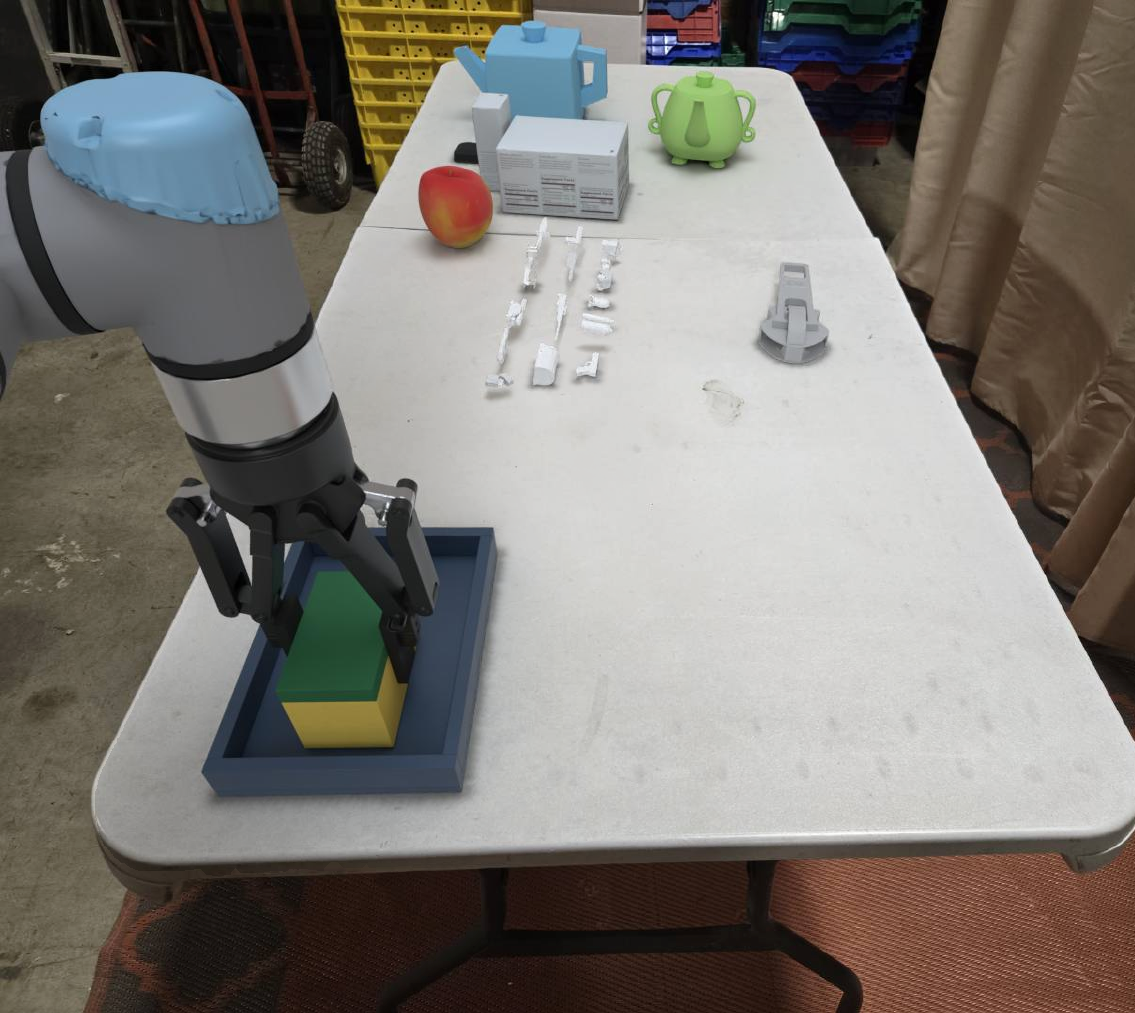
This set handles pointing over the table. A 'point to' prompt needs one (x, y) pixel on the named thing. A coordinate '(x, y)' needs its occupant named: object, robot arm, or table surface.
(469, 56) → the container
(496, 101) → the cosmetic box
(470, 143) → the remote control
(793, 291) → the zipper pull
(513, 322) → the miniature set
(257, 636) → the tray
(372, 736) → the sponge
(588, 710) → the table surface
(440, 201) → the apple
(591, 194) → the supplement box
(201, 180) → the robot arm
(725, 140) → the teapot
